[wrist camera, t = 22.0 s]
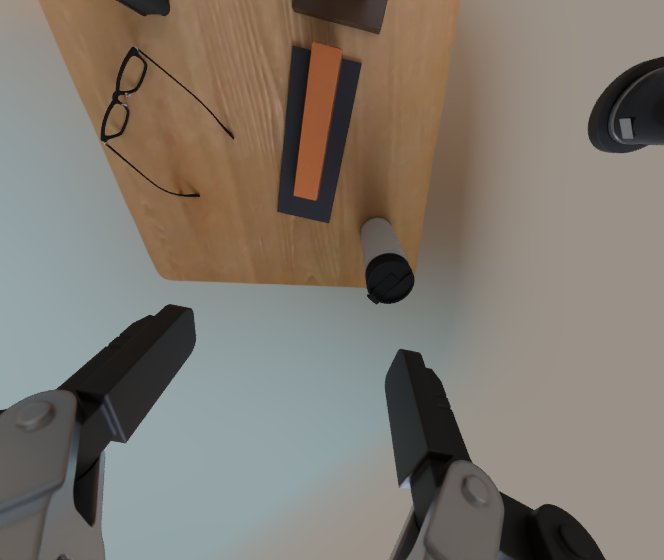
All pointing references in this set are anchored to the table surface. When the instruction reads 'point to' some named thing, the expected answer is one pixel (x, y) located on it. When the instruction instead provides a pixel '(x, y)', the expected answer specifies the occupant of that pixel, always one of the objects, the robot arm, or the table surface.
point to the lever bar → (317, 118)
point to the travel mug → (384, 263)
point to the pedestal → (345, 12)
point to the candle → (148, 6)
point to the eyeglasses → (104, 138)
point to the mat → (336, 138)
